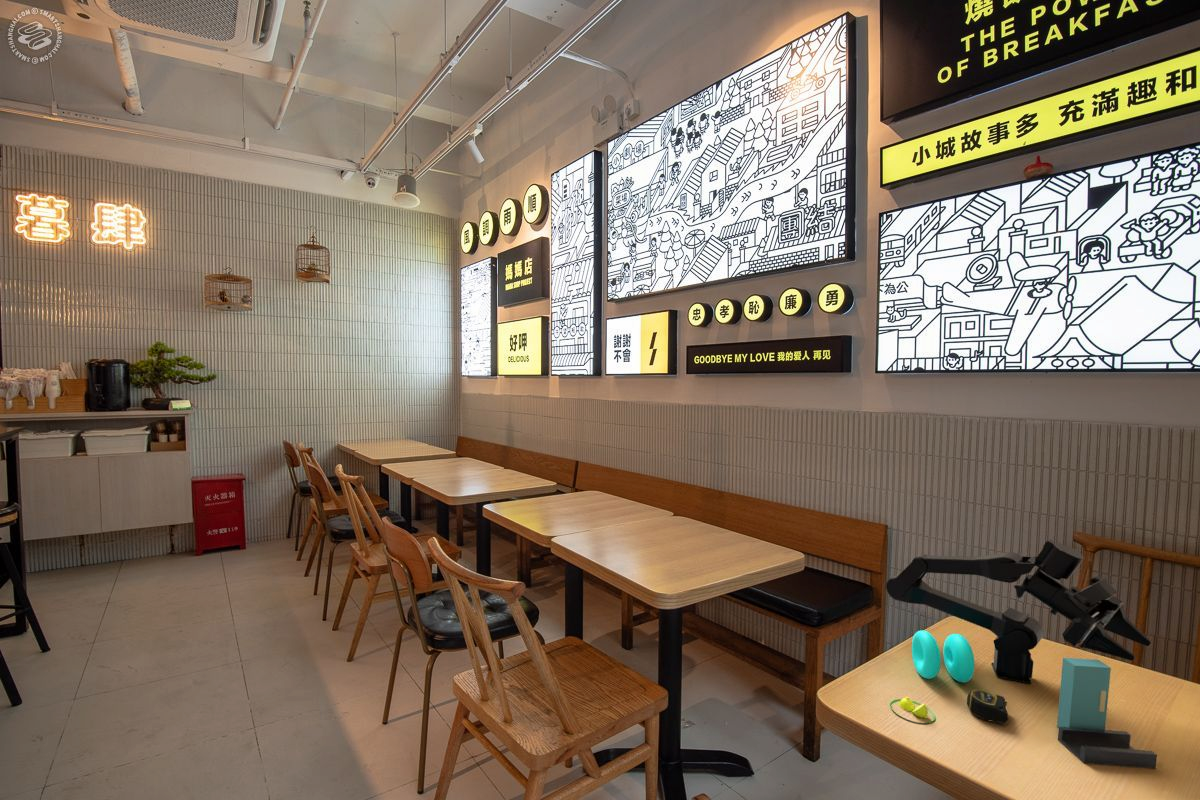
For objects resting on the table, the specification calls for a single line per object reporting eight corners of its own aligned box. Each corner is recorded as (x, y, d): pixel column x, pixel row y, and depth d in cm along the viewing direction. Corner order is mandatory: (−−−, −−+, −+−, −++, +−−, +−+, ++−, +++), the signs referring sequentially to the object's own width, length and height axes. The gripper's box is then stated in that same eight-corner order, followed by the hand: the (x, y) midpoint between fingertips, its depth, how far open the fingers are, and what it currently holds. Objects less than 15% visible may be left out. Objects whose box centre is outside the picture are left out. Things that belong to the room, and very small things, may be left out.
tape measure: (1007, 730, 112) (1009, 712, 111) (965, 717, 115) (967, 699, 115) (1006, 713, 117) (1007, 695, 117) (966, 701, 121) (967, 684, 121)
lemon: (940, 714, 116) (941, 701, 116) (927, 731, 111) (928, 717, 111) (897, 697, 122) (898, 684, 122) (883, 712, 117) (884, 699, 116)
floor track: (1057, 739, 109) (1058, 726, 109) (1124, 744, 108) (1126, 731, 108) (1083, 763, 103) (1085, 749, 102) (1155, 768, 102) (1157, 754, 102)
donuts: (975, 692, 124) (978, 647, 124) (925, 686, 126) (928, 642, 125) (954, 668, 134) (957, 626, 134) (908, 663, 136) (911, 622, 135)
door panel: (1056, 726, 113) (1063, 657, 112) (1091, 729, 113) (1098, 659, 112) (1069, 737, 110) (1075, 666, 109) (1105, 740, 109) (1111, 668, 109)
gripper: (1057, 578, 117) (1150, 636, 106) (1093, 557, 127) (1181, 608, 116) (1030, 618, 122) (1116, 678, 110) (1066, 595, 132) (1148, 648, 120)
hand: (1142, 651), depth 114 cm, fingers open, 9 cm apart
